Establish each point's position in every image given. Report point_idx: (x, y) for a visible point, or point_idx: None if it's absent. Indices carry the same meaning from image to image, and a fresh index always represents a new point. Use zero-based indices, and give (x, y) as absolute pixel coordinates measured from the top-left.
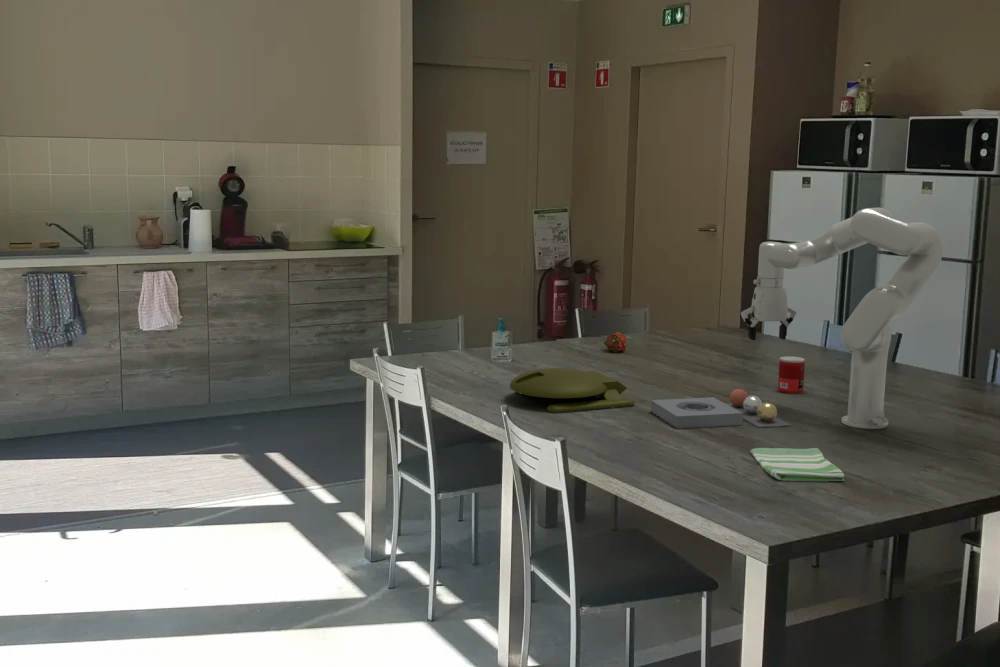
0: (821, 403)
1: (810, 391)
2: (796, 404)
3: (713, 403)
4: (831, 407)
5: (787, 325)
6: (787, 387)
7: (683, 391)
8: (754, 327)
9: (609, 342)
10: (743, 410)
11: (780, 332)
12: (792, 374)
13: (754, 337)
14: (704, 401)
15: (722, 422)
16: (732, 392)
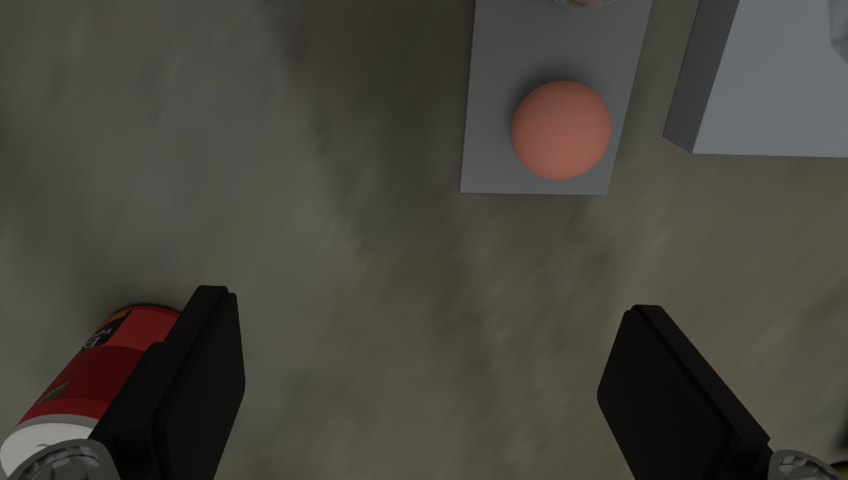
0: (76, 115)
1: (64, 331)
2: (222, 124)
3: (799, 13)
4: (42, 15)
5: (56, 467)
6: None
7: (583, 402)
8: (761, 439)
9: None
10: (571, 38)
11: (219, 419)
12: (129, 368)
13: (662, 322)
14: (803, 73)
15: None
16: (605, 147)
